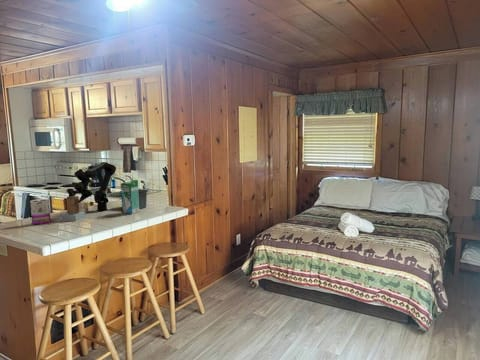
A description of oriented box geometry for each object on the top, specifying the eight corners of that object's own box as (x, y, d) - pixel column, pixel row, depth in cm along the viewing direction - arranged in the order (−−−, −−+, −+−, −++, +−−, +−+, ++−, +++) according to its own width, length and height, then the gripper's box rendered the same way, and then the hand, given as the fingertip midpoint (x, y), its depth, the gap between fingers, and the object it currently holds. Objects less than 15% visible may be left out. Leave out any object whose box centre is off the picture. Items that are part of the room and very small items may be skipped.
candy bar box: (51, 221, 245) (49, 198, 243) (50, 223, 241) (48, 199, 239) (32, 223, 240) (30, 199, 238) (31, 225, 236) (29, 201, 234)
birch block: (84, 211, 277) (83, 201, 276) (88, 212, 275) (87, 202, 274) (78, 213, 273) (77, 202, 272) (82, 213, 271) (82, 203, 270)
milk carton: (122, 213, 268) (120, 180, 265) (130, 211, 276) (128, 179, 273) (132, 214, 264) (130, 181, 261) (139, 211, 273) (137, 179, 270)
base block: (71, 217, 258) (71, 211, 258) (85, 218, 257) (85, 211, 256) (61, 221, 248) (61, 215, 247) (76, 221, 246) (75, 215, 245)
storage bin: (119, 208, 288) (117, 191, 286) (131, 204, 302) (130, 188, 300) (140, 210, 280) (139, 192, 278) (152, 206, 294) (151, 189, 292)
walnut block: (73, 212, 255) (72, 195, 254) (79, 212, 253) (78, 196, 252) (67, 213, 250) (66, 196, 249) (73, 214, 248) (72, 197, 247)
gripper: (67, 177, 257) (56, 195, 249) (87, 178, 251) (77, 196, 243) (76, 186, 266) (66, 203, 257) (96, 187, 260) (86, 205, 251)
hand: (73, 202), depth 252 cm, fingers open, 9 cm apart
